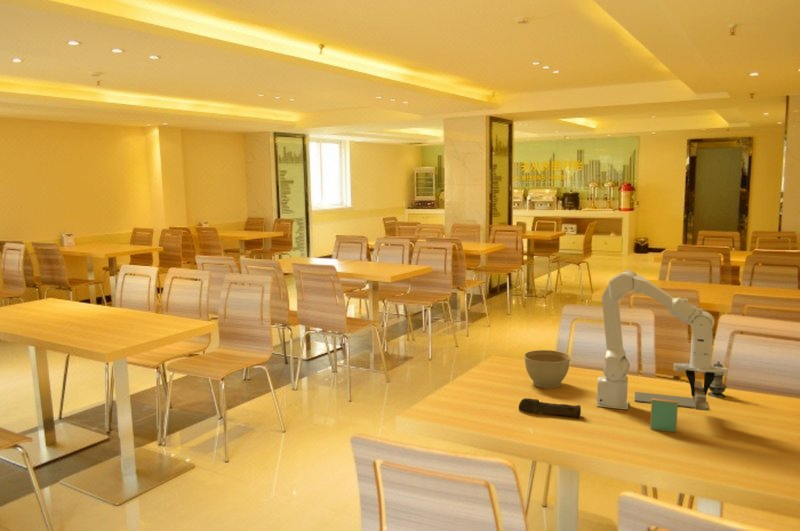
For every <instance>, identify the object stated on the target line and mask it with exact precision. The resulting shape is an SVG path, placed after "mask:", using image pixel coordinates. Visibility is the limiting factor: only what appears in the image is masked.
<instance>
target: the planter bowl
mask: <svg viewBox="0 0 800 531" xmlns="http://www.w3.org/2000/svg"><path fill="white" fill-rule="evenodd" d="M523 356H524V358H523V359H524V365H525V370H526V372H527V375H528V376H529V378H530V380H532V384H533V385H534V386H535V387H537V388H540V387H541V389H556V388H559V387H560V386H561V383H562V382H563V380H564V379H565V378H566V376H567V374H568V372H569V368H570V361H571V356H570V355H569V354H567V353H565V352H562V351H558V350H552V349H551V350H550V349H538V350H530V351H527V352H525V353H524V355H523Z"/></svg>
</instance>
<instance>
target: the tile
mask: <svg viewBox="0 0 800 531" xmlns="http://www.w3.org/2000/svg"><path fill="white" fill-rule="evenodd" d="M650 405H651V406H650V421H649V422H650V426H649V428H650V430H654V431H662V432H671V433H677V429H678V428H677V425H678V424H677V423H678V401H673V400H664V399H655V398H652V400H651V403H650Z"/></svg>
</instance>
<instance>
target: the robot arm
mask: <svg viewBox="0 0 800 531" xmlns="http://www.w3.org/2000/svg"><path fill="white" fill-rule="evenodd" d="M631 291H632V293H633V294H645V295H646V296H648V297H650V298H652V299H653V300H655V301H657V302H658V303H661V304H662V305H663V306H666V307H667V310H668V313H669V314H671V315H672V316H674V317H675V318H677V319H678V320H680V321H681V322H683V323H685V324H686V325H688V326H689V325H690V328H691V330H692V336H691V343H690V344H691V345H690V359H689V361H690V362H689V363H681V362H680V363H678V362H676V363H675V362H674V363H673V371H674V372H685V375H686V378H687V379H688V382H689V386H690V392H691V396H692V397H693V396H694V394H695V389H694V385H695V381H696V373H701V374H703V389H704V392H705V395H706V396H707V395H708V392H709V391H708V390H709V387H710V385H711V383H712V382H713V380H714V378H715V374H719V375H723V377H727V376H728V371H729V370H728V367H723V368H722V367H716V366H714V365H712V355H713V341H714V339H713V335H714V334H713V328H714V325H715V317H714V316H713V315H712V314H711V313H710V312H709V311H706V310H704V309H703V308H701V307H699V308H698V307H697V306H695V305H694V304H692V303H690V302H689V299H688V298H686V297H685V298H682V297H673V296H672V295H670V294H669V293H667V292H666V291H664V290H663V289H661V288H660V287H658V286H657V285H655V284H654V283H653V282H651V281H650V280H649V279H647V278H645V277H643V276H642V275H640V274H637V273H636V272H634V271H632V270H624V271H621V273H619V274H616V275H615V276H614V277H612V278H611V279H610V280H609V282H608V283H607V286H606V288H605V290H604V291H603V293H602V295H601V303H602V304H601V305H602V312H603V313H602V314H603V325H604V333H605V346H606V351H605V352H606V353H605V357H604V361H605V362H604V365H603V369H602V371H603V375H604V376H598V377H597V393H596V394H595V395H596V397H595V398H596V406H597V407H601V408H609V409H610V408H611V409H618V410H628V409H629V400H628V382H629V380H628V379H629V378H628V376H627V372H628V371H629V370H630V366H631V365H630V362H629V360H628V358H627V355H626V354H627V353H626V351H625V349H624V343H623V335H622V334H623V333H622V324H621V322H622V321H621V311H620V300H621V299H622V298H623V297H624V296H625V295H626V294H627V293H629V292H631Z"/></svg>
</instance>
